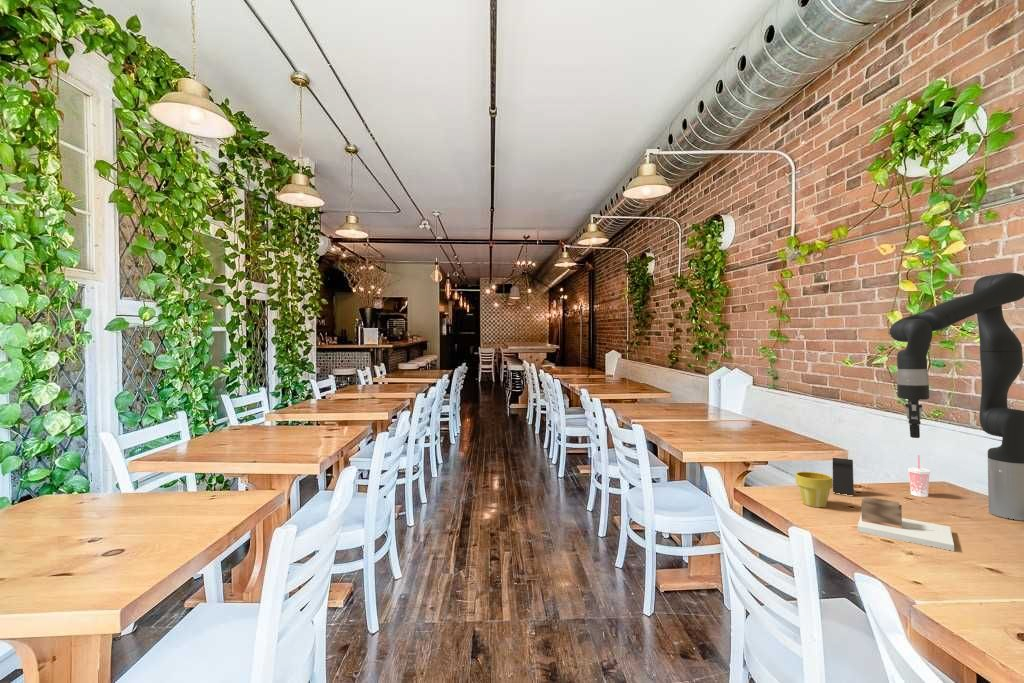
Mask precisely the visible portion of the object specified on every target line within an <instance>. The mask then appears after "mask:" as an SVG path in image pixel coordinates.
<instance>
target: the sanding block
mask: <svg viewBox="0 0 1024 683" xmlns="http://www.w3.org/2000/svg"><path fill="white" fill-rule="evenodd" d="M860 507H861V512H862V521H863V522H869V523H874V524H879V525H884V526H890V527H895V528H900V529H902V518H903V516H902V515H903V514H902V511H903V510H902V508H903V507H902V504H900V501H894V500H887V499H882V498H876V497H869V496H864V498H862V500H861V506H860ZM861 512H860V513H861Z"/></svg>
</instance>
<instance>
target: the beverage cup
mask: <svg viewBox="0 0 1024 683" xmlns="http://www.w3.org/2000/svg"><path fill="white" fill-rule="evenodd" d="M920 458H921V456H920V455H917V467H914V466H911V467H908V468H907V471H908V477H909V487H910V495H912V496H915V497H920V498H921V497H922V498H928V497H929V485H930V474H931V470H930V469H927V468H923V467H922V468H921V465H920V461H921V460H920Z"/></svg>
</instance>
